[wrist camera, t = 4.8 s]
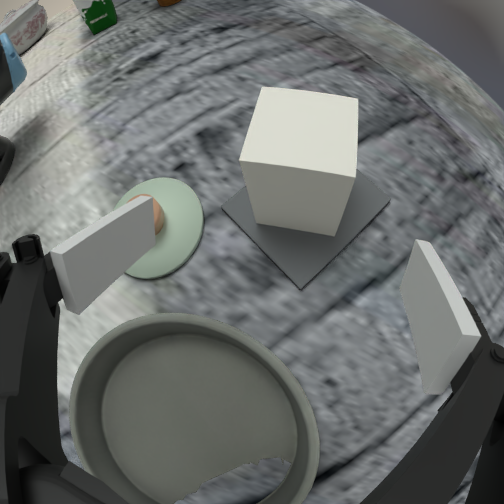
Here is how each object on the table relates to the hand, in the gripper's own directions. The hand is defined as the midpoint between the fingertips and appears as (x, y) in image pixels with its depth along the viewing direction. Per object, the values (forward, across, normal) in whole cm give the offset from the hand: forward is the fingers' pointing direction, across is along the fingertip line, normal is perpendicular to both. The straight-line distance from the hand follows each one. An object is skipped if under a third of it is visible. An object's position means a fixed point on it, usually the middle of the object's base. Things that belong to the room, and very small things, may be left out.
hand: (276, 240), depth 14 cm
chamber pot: (+62, -110, +40) cm, 132 cm away
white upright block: (+18, 0, -3) cm, 18 cm away
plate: (+14, -16, -8) cm, 22 cm away
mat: (+18, +1, -4) cm, 18 cm away
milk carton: (+53, -58, +32) cm, 85 cm away
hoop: (0, -6, -22) cm, 23 cm away
